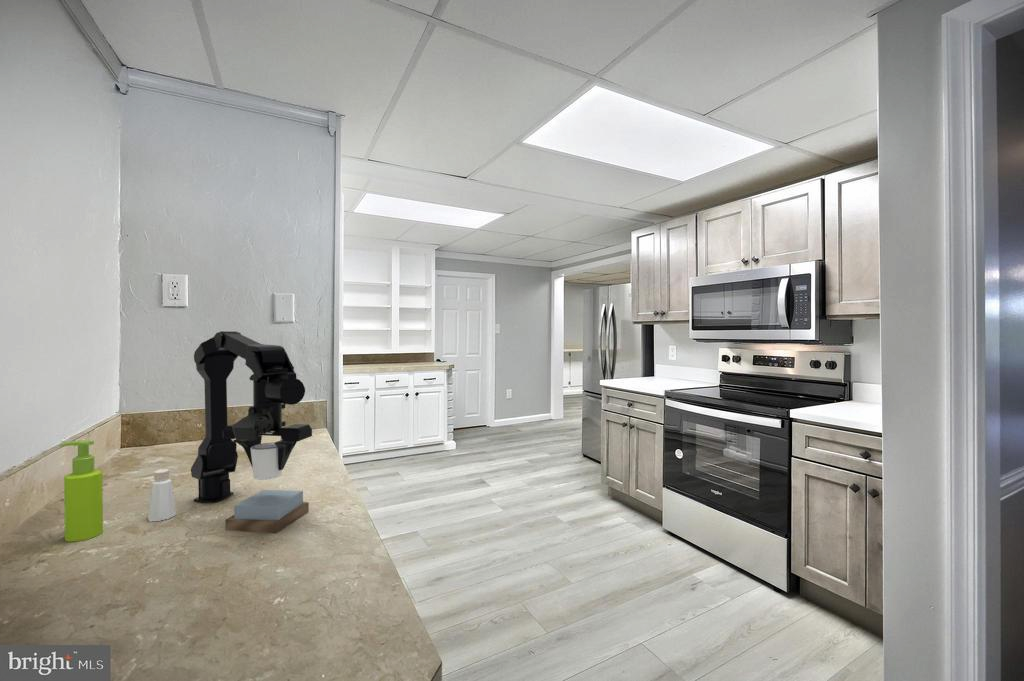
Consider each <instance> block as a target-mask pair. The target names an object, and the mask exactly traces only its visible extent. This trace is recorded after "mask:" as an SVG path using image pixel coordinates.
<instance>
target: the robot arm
mask: <svg viewBox="0 0 1024 681" xmlns="http://www.w3.org/2000/svg"><path fill="white" fill-rule="evenodd" d="M238 357H240V358H242V359H243V360H245V363H244V365H246V367H247V368H248V369H250V370H251V371H252V374H251V375H250V376H249V380H250V381H252V382H253V383H252V384H253V387H252V388H253V390H252V391H253V392H252V393H253V399H252V400H253V403H252V405H253V406H249V407H248V411H247V412H248V413H247V415H246V416H244V417H242V418H241V419H239V420H238V421H237V422H236V423H231V424H228V386H227V385H228V384H227V383H228V382H227V380H228V378H229V376H230V375H231V373H232V371H233V370H234V364H235V361H236V360H237V358H238ZM193 360H194V363H195V367H196V371H197V372H198V374H199V375H200V376H201V378H202V379H203V380H204V412H205V413H204V414H205V415H204V418H205V419H204V420H205V421H204V423H205V424H204V425H205V437H204V438H203V440H202V442H201V443H200V445H199V446H198V449H197V450H198V451H197V456H196V458H195V459H194V461H193V464H192V465H191V468H190V473H191V474H190V475H191V477H192V478H194V479H195V480H196V479H197V480H198V481H197V482H198V496H197V497H195V498H193V502H199V503H218V502H219V501H222V500H224V499H226V498H228V497H230V496H233V495H235V492H234V491H231V479H230V473H234V472H236V469H237V465H238V464H237V463H238V459H239V458H238V457H239V455H238V451H237V446H238V445H239V446H241V447H242V448H243V450H244V452H245V453H246V456H247V459H248V461H249V464H250V465H251V468H252V469H253V466H252V457H251V449H250V448H251V447H252V446H254V445H258V444H262V439H263V438H262V437H263V436H265V437H266V436H269V437H270V436H271V437H280V440H279V441H278V440H277V441H274V442H275V445H276V446H277V447H278V467H279V470H282V471H283V470H284V468H285V466H286V464H287V462H288V460H289V458H290V455H291V453H292V451H293V449H294V447H295V446H296V444H297V442H300V441H302V440H306V439H308V438H310V437H313V428H312V427H311V426H310V424H305V423H304V424H301V423H296V424H292V425H288V426H286V424H287V423H286V421H285V420H283V410H284V409H286V405H291V406H292V405H296V404H299V403H300V402H301V401H302V400H303V398H304V397H305V394H306V387H305V385H304V383H303V381H301V380H300V379H299V378H297V373H296V372H295V367H294V365H293V363H292V362H291V360H290V357H289V355H288V353H287V351H286V349H285V347H283V346H282V345H276V344H264V343H263V344H262V343H260V342H258V341H255V340H253V339H252V338H249V337H247V336H244V335H243V334H242V333H241V332H238V331H232V330H231V331H227V330H226V331H219V332H216V333H215V334H214V336H213V337H211V338H209V339H207V340H205V341H202V342H201V343H200V344H199V346H198V347H197V348H196V350H195V351H194V354H193ZM237 444H238V445H237Z"/></svg>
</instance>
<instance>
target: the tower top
mask: <svg viewBox="0 0 1024 681" xmlns="http://www.w3.org/2000/svg"><path fill="white" fill-rule="evenodd" d="M303 502H304V491H303V490H283V489H281V490H280V489H262V490H260V491H259V492H257V493H254V494H253V495H251V496H249V497H247V498H245V499H244V500H241V501H240V502H238V503H236V504H234V506H233V507H234V509H233V510H234V512H233V513H234V514H233V515H234V519H252V520H279V519H281V518H282V517H284V516H285V515H287V514H288V513H290V512H291V511H293V510H294V509H296V508H297V507H298V506H300V505H301V504H303Z"/></svg>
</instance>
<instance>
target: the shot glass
mask: <svg viewBox="0 0 1024 681" xmlns="http://www.w3.org/2000/svg"><path fill="white" fill-rule="evenodd" d="M275 442H276V441H274V442H262V443H261V444H258V445H254V446H252V447H251V448H250V449H251V457H252V466H253V468H252V474H253V479H254V480H258V481H262V480H263V481H265V480H271V479H276V478H279V477H280V476H281V477H282V474H283V470H279V467H278V447H277V446H276V445H275ZM252 466H251V467H252Z"/></svg>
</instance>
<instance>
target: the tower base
mask: <svg viewBox="0 0 1024 681" xmlns="http://www.w3.org/2000/svg"><path fill="white" fill-rule="evenodd" d="M309 506H310V504H309V501H303V504H301V505H300V506H298V507H297V508H296V509H294V510H293V511H291V512H290V513H288V514H287V515H285V516H284V517H282V518H281V519H279V520H252V519H234V514H233V515H231V516H229V517H227V518H225V520H224V522H225V524H224V525H225V528H224V529H225V531H232V532H233V531H235V532H248V533H249V532H250V533H263V534H277V533H279V532H280V531H282V530H283V529H285V528H287V527H288V526H289V524H290V525H291V524H292V523H294V522H296V521H297V520H299V519H300V518H302V517H303V516H304V515H306V514H308V513H309V511H310V510H309V508H310V507H309ZM286 526H287V527H286Z"/></svg>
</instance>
